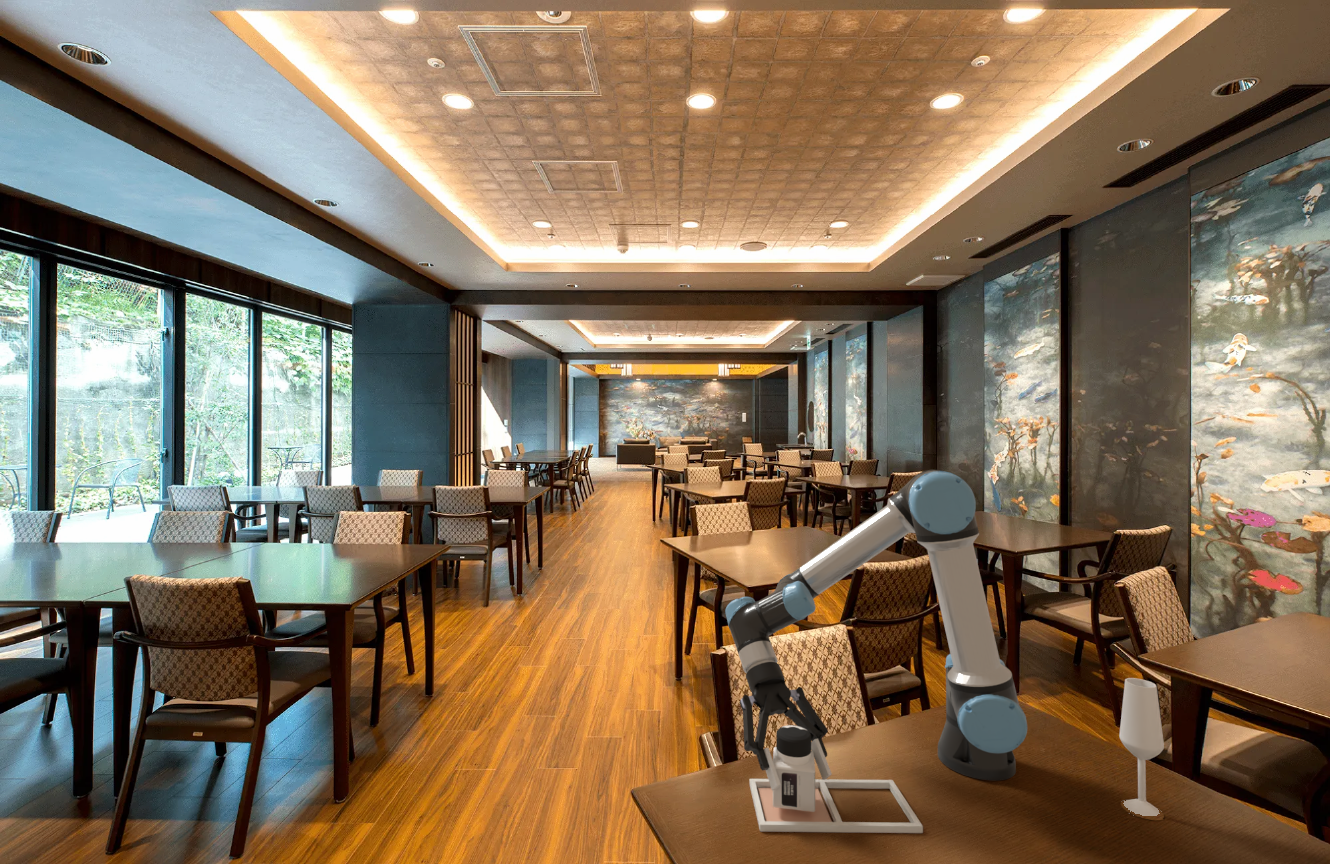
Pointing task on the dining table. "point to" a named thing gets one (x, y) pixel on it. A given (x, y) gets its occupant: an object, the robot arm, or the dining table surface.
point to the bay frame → (820, 818)
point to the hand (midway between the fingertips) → (802, 782)
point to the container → (794, 769)
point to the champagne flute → (1141, 735)
